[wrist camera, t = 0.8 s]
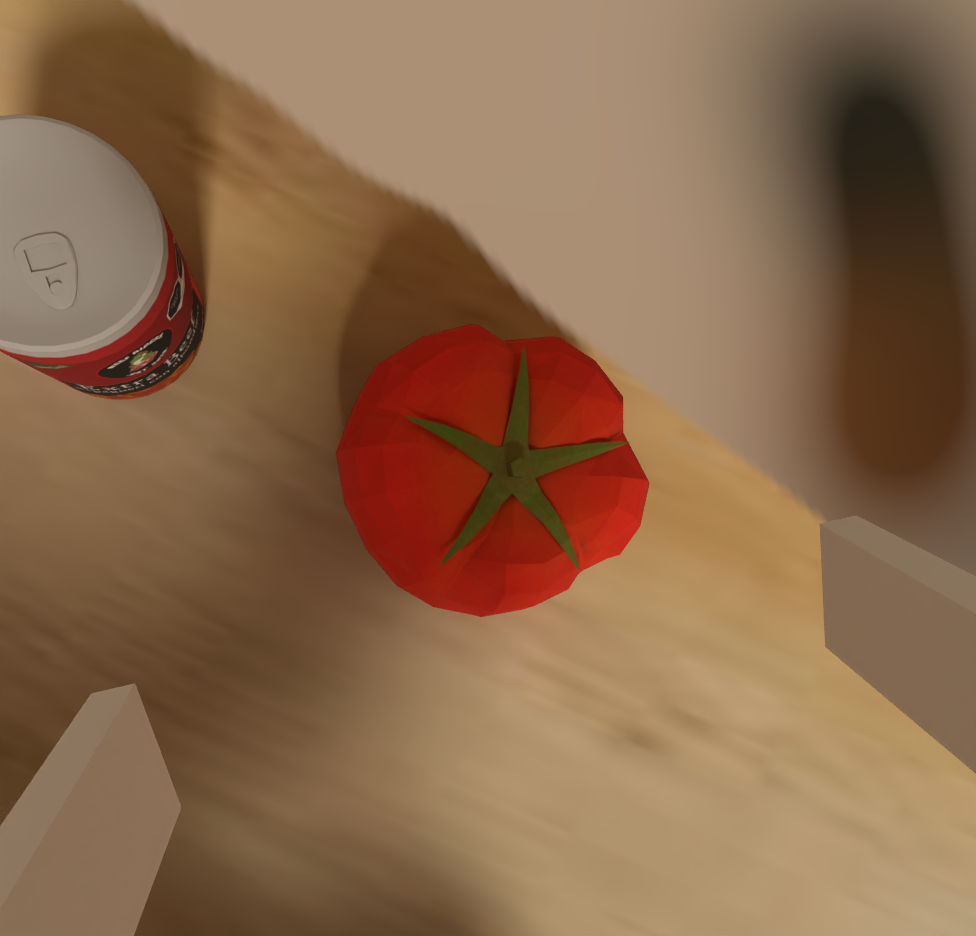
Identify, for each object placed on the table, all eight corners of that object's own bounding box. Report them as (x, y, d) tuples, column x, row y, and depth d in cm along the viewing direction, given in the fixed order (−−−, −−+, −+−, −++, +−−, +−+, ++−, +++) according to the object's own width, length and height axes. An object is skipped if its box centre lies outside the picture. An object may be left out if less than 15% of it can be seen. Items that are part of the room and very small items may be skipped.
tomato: (290, 542, 35) (286, 557, 25) (397, 307, 37) (433, 231, 27) (532, 640, 38) (616, 689, 28) (619, 416, 40) (728, 385, 30)
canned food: (99, 434, 33) (3, 399, 22) (-10, 289, 32) (-164, 182, 22) (241, 346, 35) (215, 276, 24) (141, 207, 34) (68, 71, 23)
